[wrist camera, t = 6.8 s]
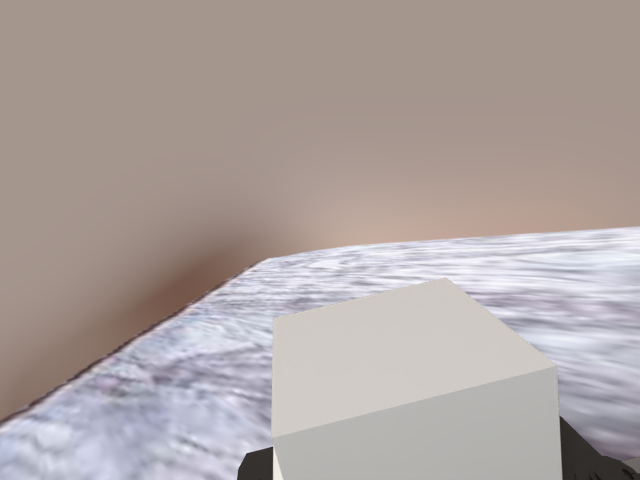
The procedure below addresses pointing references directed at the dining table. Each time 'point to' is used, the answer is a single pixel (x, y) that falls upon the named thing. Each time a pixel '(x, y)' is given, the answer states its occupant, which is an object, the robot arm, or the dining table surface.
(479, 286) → the dining table surface
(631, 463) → the power strip
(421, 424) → the block
